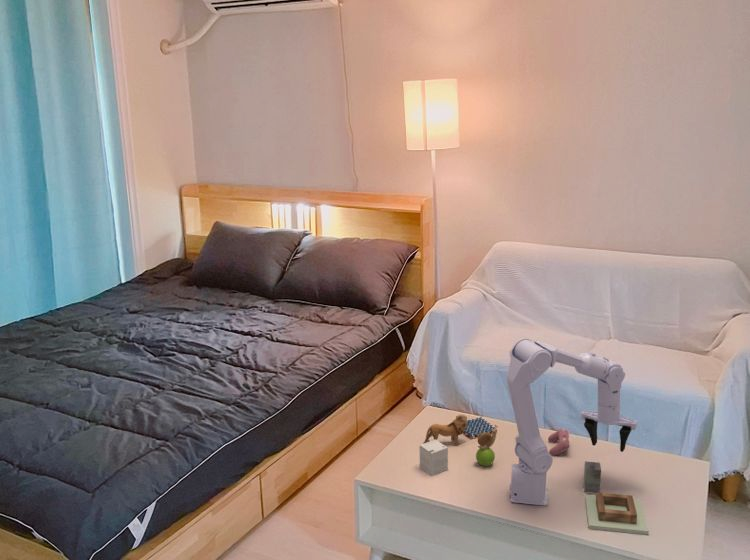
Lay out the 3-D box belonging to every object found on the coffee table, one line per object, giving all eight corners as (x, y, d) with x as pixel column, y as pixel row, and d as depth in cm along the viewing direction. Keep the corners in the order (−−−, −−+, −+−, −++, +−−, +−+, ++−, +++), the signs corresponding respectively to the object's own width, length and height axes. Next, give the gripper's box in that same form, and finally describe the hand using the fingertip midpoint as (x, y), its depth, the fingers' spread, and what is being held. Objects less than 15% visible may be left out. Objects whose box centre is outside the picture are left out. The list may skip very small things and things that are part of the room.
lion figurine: (464, 436, 224) (464, 410, 221) (470, 444, 219) (470, 418, 216) (420, 442, 221) (419, 416, 218) (424, 450, 216) (424, 424, 213)
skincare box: (435, 461, 209) (435, 438, 208) (448, 469, 205) (448, 447, 203) (419, 467, 206) (418, 444, 204) (431, 476, 201) (431, 453, 199)
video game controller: (561, 461, 210) (573, 443, 208) (547, 454, 211) (559, 436, 208) (559, 445, 220) (571, 428, 217) (546, 439, 220) (557, 421, 218)
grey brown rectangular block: (584, 491, 192) (585, 468, 190) (583, 484, 196) (584, 461, 194) (599, 493, 191) (601, 470, 189) (598, 485, 195) (599, 462, 193)
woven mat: (452, 428, 230) (452, 422, 230) (480, 421, 235) (480, 415, 234) (469, 441, 221) (469, 436, 221) (498, 434, 225) (498, 429, 225)
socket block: (588, 528, 176) (589, 516, 175) (585, 497, 189) (585, 486, 188) (648, 534, 173) (649, 522, 172) (640, 502, 186) (641, 491, 185)
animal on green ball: (501, 466, 206) (502, 429, 202) (481, 471, 203) (482, 433, 200) (491, 457, 210) (492, 421, 207) (472, 462, 208) (473, 425, 205)
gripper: (640, 401, 190) (639, 445, 194) (586, 391, 198) (587, 434, 202) (633, 412, 184) (632, 458, 188) (578, 402, 193) (578, 446, 196)
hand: (608, 446), depth 195 cm, fingers open, 7 cm apart
